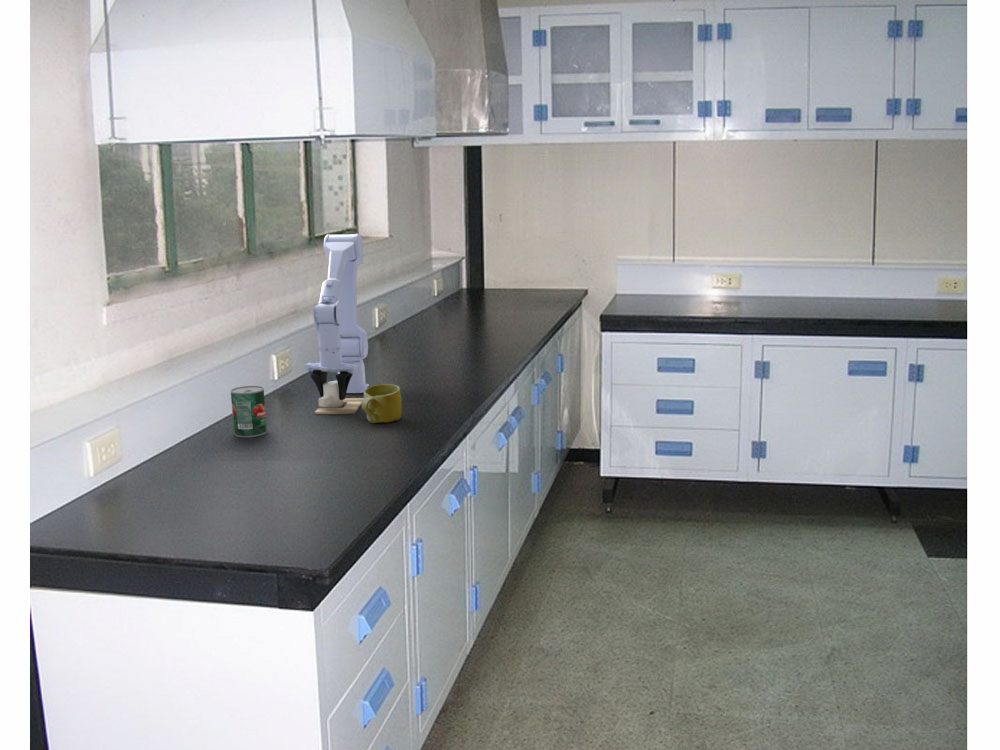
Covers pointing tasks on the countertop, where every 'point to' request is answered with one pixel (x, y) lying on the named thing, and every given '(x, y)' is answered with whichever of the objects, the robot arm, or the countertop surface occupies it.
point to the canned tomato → (248, 411)
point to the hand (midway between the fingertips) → (333, 398)
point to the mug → (382, 403)
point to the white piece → (330, 395)
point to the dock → (349, 408)
